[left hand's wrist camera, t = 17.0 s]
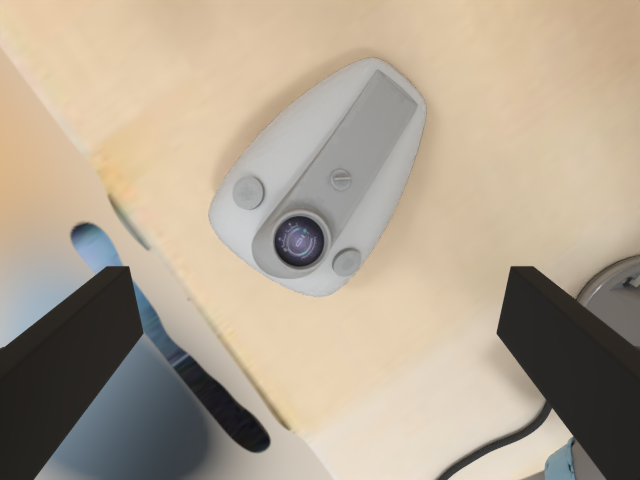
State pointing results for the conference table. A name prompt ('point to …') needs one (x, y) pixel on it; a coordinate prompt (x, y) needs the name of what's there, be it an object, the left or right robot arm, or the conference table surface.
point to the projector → (323, 179)
